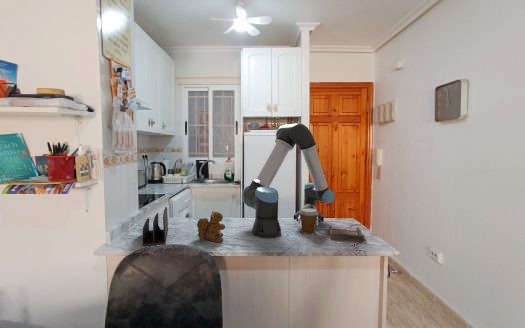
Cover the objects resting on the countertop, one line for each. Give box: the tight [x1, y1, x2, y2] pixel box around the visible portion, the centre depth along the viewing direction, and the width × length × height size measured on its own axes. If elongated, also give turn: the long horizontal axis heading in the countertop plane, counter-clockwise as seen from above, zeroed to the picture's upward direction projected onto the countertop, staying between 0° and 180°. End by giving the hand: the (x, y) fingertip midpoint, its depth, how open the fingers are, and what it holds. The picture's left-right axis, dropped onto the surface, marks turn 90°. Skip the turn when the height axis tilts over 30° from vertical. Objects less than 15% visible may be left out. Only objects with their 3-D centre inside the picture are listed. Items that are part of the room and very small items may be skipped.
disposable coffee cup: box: [299, 207, 319, 235], centre depth 141 cm, size 10×10×12 cm
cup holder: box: [328, 225, 365, 242], centre depth 137 cm, size 15×15×3 cm
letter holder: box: [141, 206, 169, 247], centre depth 129 cm, size 10×20×14 cm, turn 16°
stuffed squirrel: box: [196, 211, 226, 243], centre depth 129 cm, size 10×14×13 cm
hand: (308, 222), depth 137 cm, fingers open, 9 cm apart
